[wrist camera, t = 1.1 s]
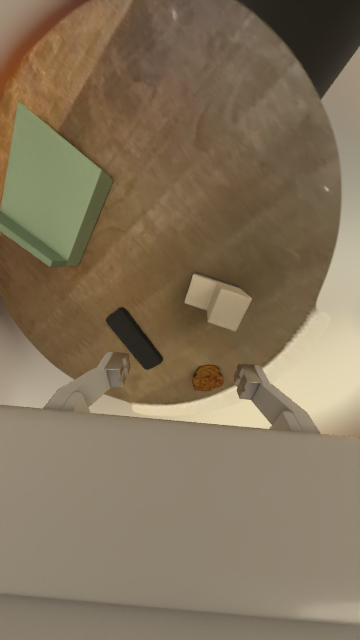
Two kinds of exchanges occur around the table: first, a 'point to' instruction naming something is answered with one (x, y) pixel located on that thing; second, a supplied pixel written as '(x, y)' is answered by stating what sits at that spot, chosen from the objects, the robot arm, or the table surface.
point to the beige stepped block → (218, 300)
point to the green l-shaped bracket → (50, 193)
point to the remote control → (134, 338)
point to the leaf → (207, 378)
